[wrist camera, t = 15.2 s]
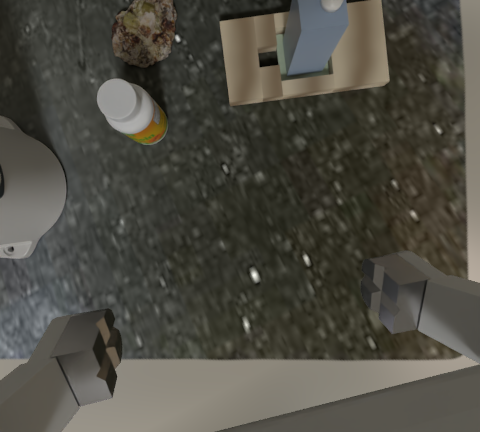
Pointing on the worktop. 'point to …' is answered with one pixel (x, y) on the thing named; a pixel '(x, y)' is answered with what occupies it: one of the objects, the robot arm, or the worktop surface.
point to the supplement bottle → (132, 111)
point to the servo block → (313, 34)
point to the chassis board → (283, 87)
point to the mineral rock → (144, 32)
